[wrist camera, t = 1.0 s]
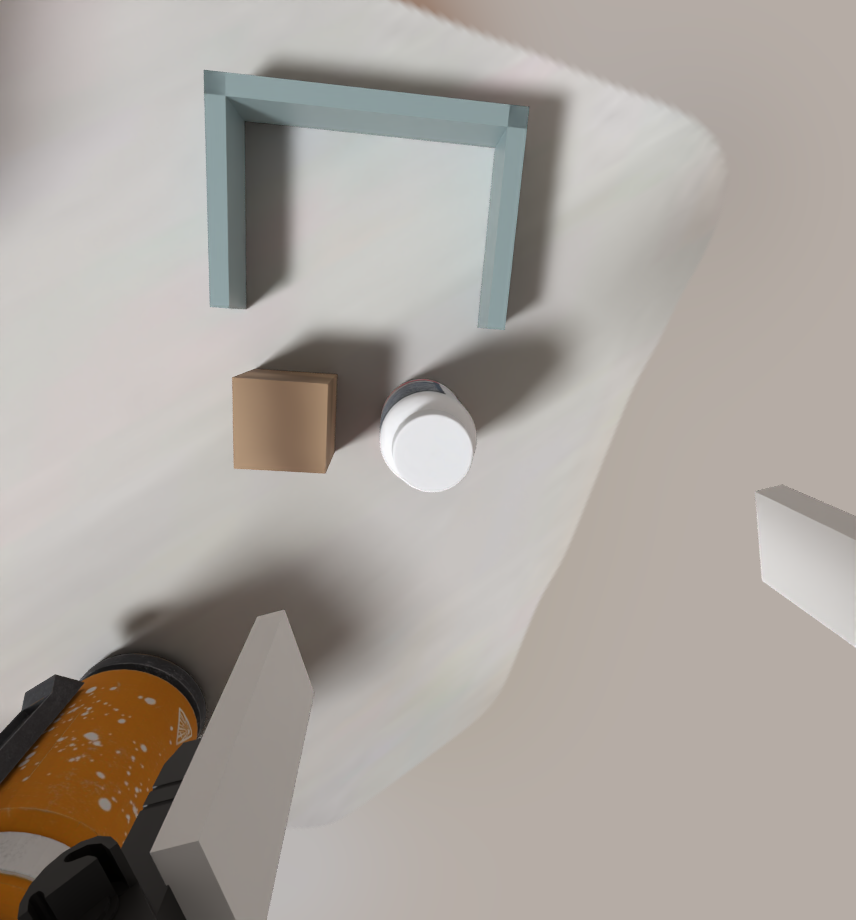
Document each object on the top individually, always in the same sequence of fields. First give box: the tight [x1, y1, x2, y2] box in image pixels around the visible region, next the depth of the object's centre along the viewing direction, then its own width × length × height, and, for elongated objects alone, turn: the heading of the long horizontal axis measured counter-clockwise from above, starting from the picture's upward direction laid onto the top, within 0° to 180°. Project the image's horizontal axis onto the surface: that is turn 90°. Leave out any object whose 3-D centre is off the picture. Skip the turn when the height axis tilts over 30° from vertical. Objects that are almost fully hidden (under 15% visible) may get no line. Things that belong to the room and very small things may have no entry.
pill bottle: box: [379, 379, 477, 492], centre depth 30 cm, size 5×5×9 cm
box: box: [204, 70, 529, 330], centre depth 29 cm, size 16×11×4 cm
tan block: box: [232, 369, 337, 473], centre depth 31 cm, size 5×5×5 cm
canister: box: [0, 654, 206, 920], centre depth 29 cm, size 9×11×20 cm
